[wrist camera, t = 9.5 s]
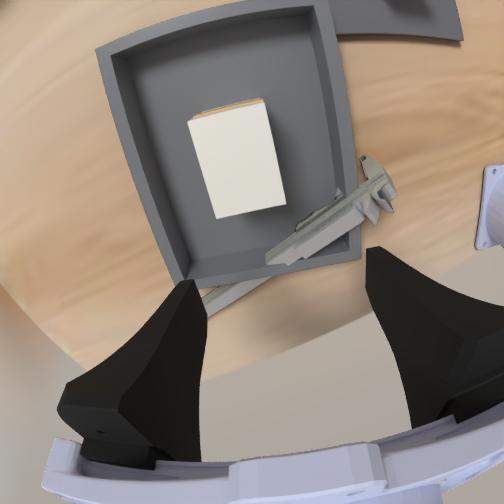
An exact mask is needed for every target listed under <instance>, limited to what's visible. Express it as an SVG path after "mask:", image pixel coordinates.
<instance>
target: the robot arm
mask: <svg viewBox="0 0 504 504" xmlns="http://www.w3.org/2000/svg"><path fill="white" fill-rule="evenodd" d="M493 170H494V171H493ZM492 172H493V173H492ZM498 244H500V245H501V246H502V247H503V248H504V164H498V165H488V166H486V168H485V170H484V183H483V193H482V203H481V211H480V218H479V225H478V231H477V237H476V243H475V247H476V248H477V249H478V250H480V249H484V248H487V247H491V246H495V245H498ZM365 288H366V291H367V294H368V297H369V300H370V303H371V306H372V308H373V310H374V312H375V314H376V317H377V318H378V321H379V323H380V325H381V327H382V329H383V331H384V333H385V335H386V337H387V339H388V341H389V344H390V346H391V348H392V351H393V353H394V356H395V359H396V362H397V366H398V369H399V372H400V375H401V380H402V383H403V387H404V391H405V395H406V400H407V404H408V409H409V414H410V420H411V426H412V430H409V431H406V432H402V433H399V434H396V435H393V436H389V437H386V438H382V439H379V440H375V441H371V442H357V443H350V444H344V445H339V446H334V447H329V448H324V449H317V450H311V451H305V452H298V453H291V454H283V455H273V456H263V457H255V458H248V459H242V460H240V461H236V462H202V461H201V450H200V431H199V387H200V378H201V371H202V365H203V359H204V352H205V346H206V339H207V316H208V314H207V312H206V309H205V307H204V304H203V302H202V299H201V297H200V294H199V291H198V289H197V286H196V283H195V281H194V279H189V280H183V281H180V282H179V283H178V284H177V285H176V286H175V288H174V289H173V290H172V291H171V293H170V294H169V295H168V297H167V298H166V299H165V300H164V302H163V303H162V304H161V305H160V307H159V308H158V309H157V310H156V312H155V313H154V314H153V315H152V316H151V317H150V319H149V320H148V321H147V322H146V323H145V324H144V325H143V327H142V328H141V329H140V330H139V331H138V332H137V333H136V334H135V335H134V336H133V337H132V338H131V339H130V340H129V341H128V342H126V343H125V344H124V345H123V346H122V347H121V348H119V349H118V350H117V351H116V352H115V353H113V354H112V355H111V356H110V357H108V358H107V359H106V360H104V361H103V362H101V363H100V364H99V365H97V366H96V367H94V368H93V369H91V370H89V371H88V372H86V373H85V374H83V375H81V376H79V377H77V378H75V379H74V380H72V381H70V382H68V383H67V384H66V386H65V389H64V391H63V394H62V396H61V399H60V402H59V404H58V407H57V412H58V414H59V416H60V417H61V418H62V420H63V421H64V422H65V423H66V424H68V425H69V426H70V427H71V428H72V429H74V430H75V431H76V432H77V433H79V434H80V435H81V436H82V437H83V438H84V440H83V443H82V444H80V443H78V442H76V441H72V440H67V439H63V438H58V437H56V438H55V440H54V443H53V446H52V449H51V452H50V455H49V459H48V462H47V465H46V469H45V472H44V476H43V480H42V484H41V487H42V488H43V489H45V490H47V491H49V492H51V493H53V494H55V495H57V496H59V497H60V498H63V499H65V500H67V501H69V502H71V503H73V504H443V502H442V498H441V494H442V493H444V492H446V491H448V490H451V489H453V488H455V487H457V486H459V485H461V484H463V483H465V482H467V481H469V480H471V479H472V478H474V477H476V476H478V475H480V474H481V473H483V472H485V471H487V470H488V469H490V468H492V467H493V466H495V465H497V464H498V463H500V462H502V461H503V460H504V306H499V305H494V304H491V303H488V302H484V301H481V300H478V299H474V298H471V297H469V296H466V295H464V294H461V293H459V292H456V291H454V290H452V289H450V288H447V287H446V286H444V285H441V284H439V283H437V282H436V281H434V280H432V279H430V278H429V277H427V276H425V275H423V274H422V273H420V272H418V271H417V270H415V269H414V268H412V267H411V266H409V265H408V264H406V263H405V262H403V261H402V260H400V259H399V258H397V257H396V256H394V255H393V254H391V253H390V252H388V251H387V250H385V249H384V248H382V247H380V246H378V247H372V248H367V249H366V284H365Z"/></svg>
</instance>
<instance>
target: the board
mask: <svg viewBox="0 0 504 504" xmlns="http://www.w3.org/2000/svg"><path fill="white" fill-rule="evenodd" d="M328 4H329V8H330V12H331V16H332V20H333V24H334V28H335V33H336V35H363V34H376V35H405V36H419V37H430V38H439V39H446V40H454V41H464V38H463V33H462V28H461V23H460V18H459V14H458V10H457V6H456V2H455V0H328Z"/></svg>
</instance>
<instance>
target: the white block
mask: <svg viewBox="0 0 504 504" xmlns="http://www.w3.org/2000/svg"><path fill="white" fill-rule="evenodd" d="M187 123H188V126H189V130H190V133H191V137H192V140H193V143H194V147H195V150H196V154H197V157H198V160H199V164H200V167H201V170H202V174H203V177H204V180H205V184H206V187H207V190H208V193H209V197H210V200H211V203H212V206H213V210H214V213H215V216H216V219H219V218H223V217H228V216H232V215H237V214H241V213H246V212H250V211H255V210H260V209H264V208H269V207H274V206H279V205H284V204H286V200H285V195H284V190H283V185H282V180H281V175H280V171H279V166H278V161H277V156H276V152H275V147H274V143H273V138H272V134H271V129H270V125H269V120H268V116H267V112H266V107H265V103H264V101H263V99H262V98H261V99H260V98H257V99H252V100H247V101H243V102H239V103H234V104H230V105H226V106H222V107H218V108H214V109H211V110H207V111H203V112H201V113H199V114H196V115H195V116H193V118H192V119H191V120H189V121H188V122H187Z"/></svg>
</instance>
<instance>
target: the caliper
mask: <svg viewBox="0 0 504 504" xmlns="http://www.w3.org/2000/svg"><path fill="white" fill-rule="evenodd" d="M360 161H361V163H362V166H363V169H364V173H365V176H366V179H367V181H365V182H364V183H362V184H361V185H359V186H358V189H357V190H355V191H354V192H353V193H352V194H351V195H350V196H349V197H347V198H346V197H345V196H344V195H343V193H342V192H341V191H340V190H339V188H338V187H337V192H336V196H335V200H334V201H333V202H331V203H330V204H328V205H327V206H323V207H321V208H319V209H317V210H315V211H314V212H312V213H311V214H310V215H309V216H308V217H307V218H305V219H304V220H302V221H300V222H298V223H297V224H296V225H295V232H294V233H293V234H291V235H290V236H289V237H287V238H286V239H284V240H283V241H282V242H280V243H279V244H277V245H276V246H275V247H273V248H272V249H271V250H269V251H268V252H266V253H265V258H266V265H273V264H283V263H285V264H287V265H288V266H289V265H290V264H292V263H293V262H295V261H297V260H298V259H300V258H301V257H303V258H304V259H306V258H308V257H309V256H311V255H312V254H314V253H316V252H317V251H319V250H320V249H322V248H323V247H325V246H326V245H328V244H329V243H331V242H332V241H334V240H335V239H337V238H338V237H340V236H341V235H343V234H344V233H346V232H347V231H349V230H351V229H352V228H354V227H355V226H356V225H358V224H359V223H361V222H362V221H363V220H364V219H365V217H364V215H366V216H367V217H368V219H369V220H370V221H371V222H372V223H373V225H374V226H376V224H377V221H378V218H379V214H380V209H379V206H378V205H380V207H381V208H382V209H383V210H384V211H386V212H387V213H391V214H392V213H394V211H393V208H392V206H391V203H390V201H391V200H392V199H394V198H395V197H396V196H398V195H397V192H396V190H395V187H394V184H393V182H392V179H391V177H390V176H389V175H388V173H387V172H386V171H385V169H384V168H383V167H382V166H381V165H380V164H379V163H377V162H376V161H374V160H373V159H372V158H370V157H369V156H367V155H365V156H362V157H361V158H360ZM271 277H272V276H270V277H264V278H259V279H253V280H248V281H242V282H236V283H231V284H225V285H220V286H219V287H217V288H216V289H214V290H213V291H212V292H210V293H209V294H207V295H206V296H205V297H203V298H202V302H203V304H204V307H205V309H206V312H207V314H208V316H207V318H208V317H210V316H211V315H213V314H214V313H216V312H218V311H219V310H221V309H222V308H224V307H226V306H227V305H229V304H230V303H232V302H233V301H235V300H237V299H238V298H240V297H241V296H243V295H244V294H246V293H248V292H249V291H251V290H252V289H254V288H255V287H257V286H258V285H260V284H261V283H263V282H265V281H266V280H268V279H269V278H271Z"/></svg>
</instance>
